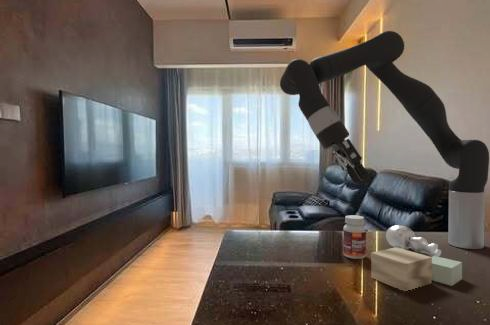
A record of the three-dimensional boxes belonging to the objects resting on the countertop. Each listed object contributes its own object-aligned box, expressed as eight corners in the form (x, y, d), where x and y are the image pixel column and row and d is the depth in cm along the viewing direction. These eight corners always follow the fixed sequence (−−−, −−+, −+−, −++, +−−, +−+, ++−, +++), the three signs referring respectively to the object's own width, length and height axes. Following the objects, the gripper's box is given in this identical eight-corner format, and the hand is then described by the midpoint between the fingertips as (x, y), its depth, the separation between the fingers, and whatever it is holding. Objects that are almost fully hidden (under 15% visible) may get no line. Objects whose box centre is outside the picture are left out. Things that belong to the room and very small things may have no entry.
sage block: (433, 271, 79) (434, 255, 79) (461, 279, 75) (461, 262, 75) (423, 277, 76) (423, 261, 76) (451, 285, 71) (451, 268, 71)
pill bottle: (353, 260, 88) (353, 219, 88) (338, 254, 94) (338, 215, 94) (370, 257, 91) (370, 217, 90) (355, 251, 96) (355, 214, 96)
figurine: (436, 232, 86) (390, 213, 99) (420, 253, 85) (375, 231, 98) (448, 254, 91) (402, 232, 104) (433, 274, 90) (389, 250, 103)
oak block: (396, 270, 80) (396, 247, 80) (431, 283, 72) (431, 257, 72) (371, 277, 76) (371, 252, 76) (405, 292, 68) (406, 264, 68)
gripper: (344, 112, 78) (382, 169, 74) (336, 127, 92) (368, 176, 88) (317, 128, 78) (354, 186, 75) (313, 140, 92) (344, 189, 89)
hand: (361, 180), depth 82 cm, fingers open, 8 cm apart
